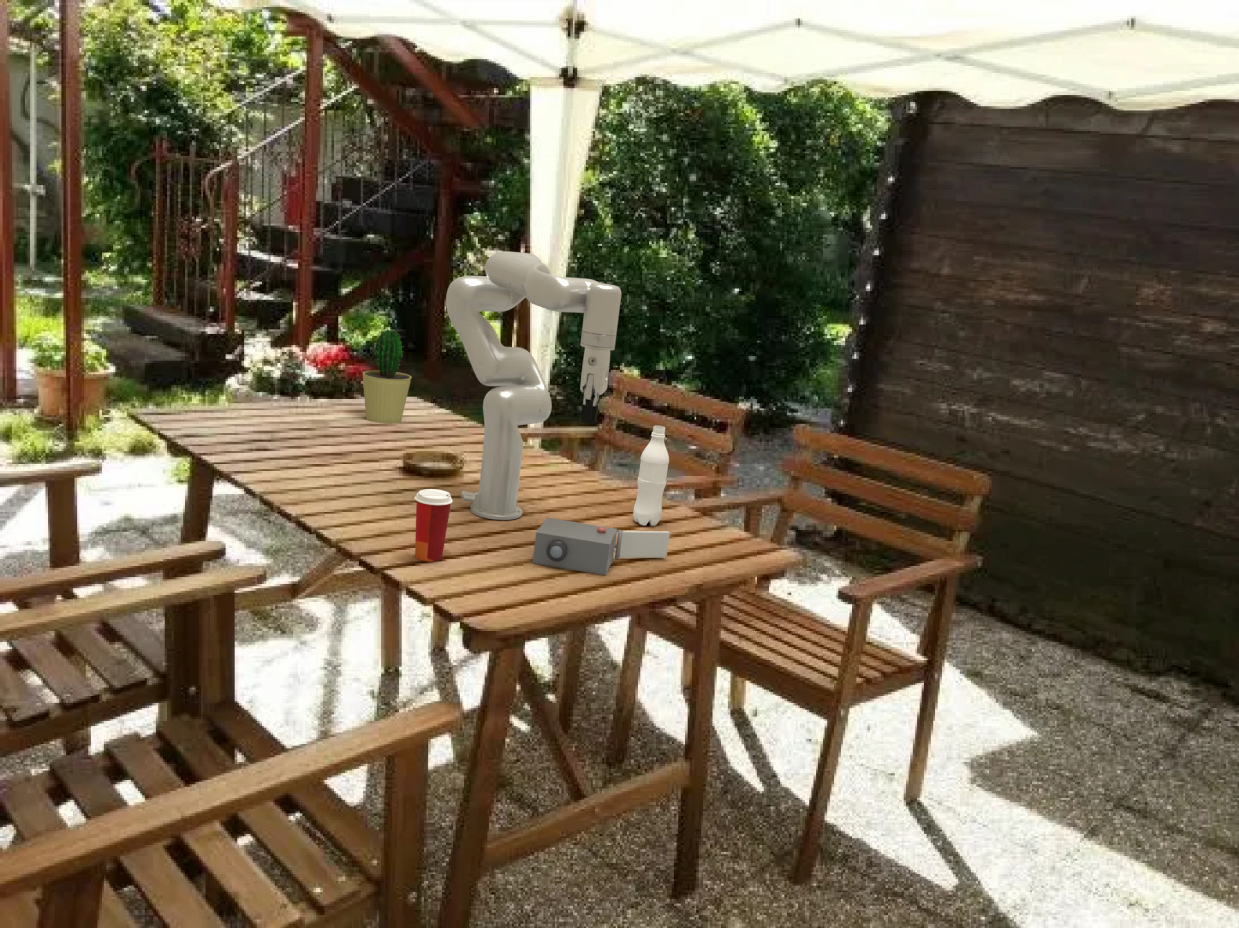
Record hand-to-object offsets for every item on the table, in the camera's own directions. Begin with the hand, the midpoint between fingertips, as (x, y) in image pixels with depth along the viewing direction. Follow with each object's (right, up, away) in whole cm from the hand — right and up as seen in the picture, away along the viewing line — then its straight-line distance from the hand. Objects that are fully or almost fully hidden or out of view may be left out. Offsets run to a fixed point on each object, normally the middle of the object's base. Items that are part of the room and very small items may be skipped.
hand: (588, 422), depth 237 cm
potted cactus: (-70, +5, +109) cm, 130 cm away
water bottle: (+14, -24, +33) cm, 43 cm away
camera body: (-3, -31, -3) cm, 31 cm away
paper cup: (-33, -29, -13) cm, 46 cm away
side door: (+12, -30, +4) cm, 33 cm away
